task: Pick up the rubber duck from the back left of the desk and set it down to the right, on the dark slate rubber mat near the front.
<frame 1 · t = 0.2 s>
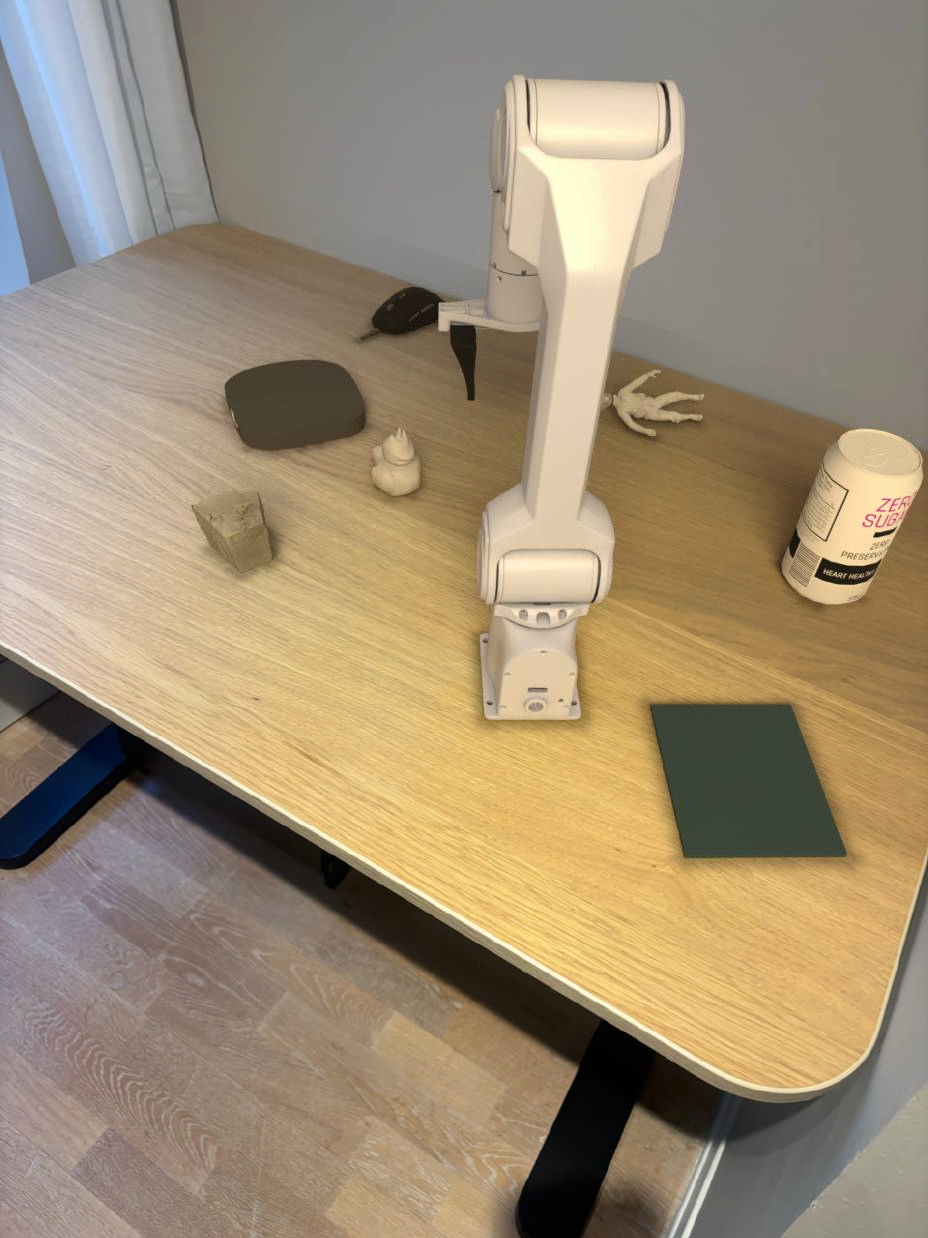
hand: (508, 396, 88), 10 cm above the table, tool pointing down, fingers open, 7 cm apart
media streaming box: (296, 414, 102), on the table
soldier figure: (649, 421, 105), on the table
rubber duck: (395, 488, 93), on the table
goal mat: (741, 777, 69), on the table
mineral specimen: (247, 561, 84), on the table
supplement can: (821, 581, 85), on the table
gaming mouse: (402, 324, 119), on the table
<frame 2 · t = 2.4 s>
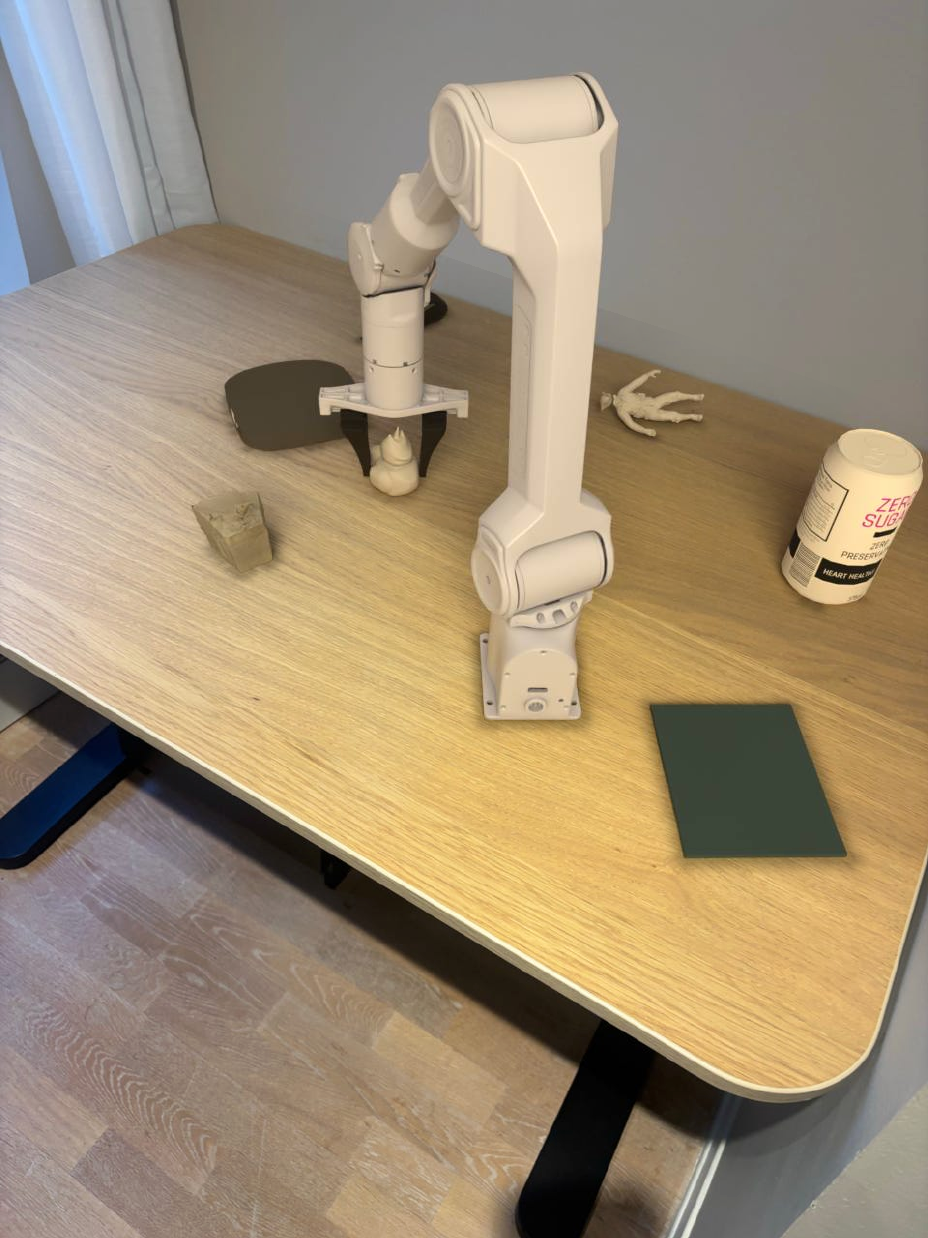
hand: (395, 471, 92), 2 cm above the table, tool pointing down, fingers closed on rubber duck, 5 cm apart
rubber duck: (393, 488, 93), on the table, touching gripper
everything else where it was.
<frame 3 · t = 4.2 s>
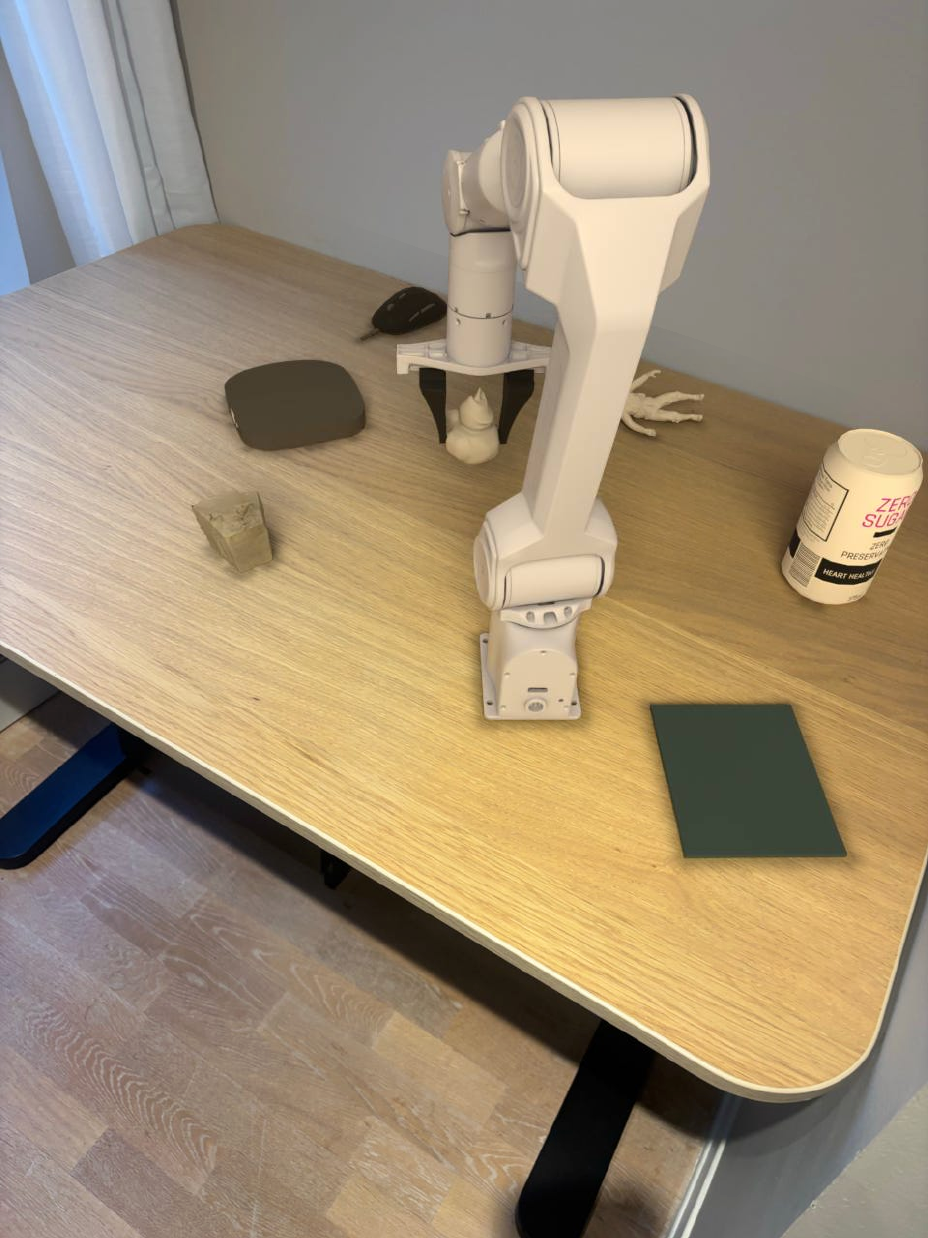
hand: (472, 438, 85), 9 cm above the table, tool pointing down, fingers closed on rubber duck, 5 cm apart
rubber duck: (469, 456, 86), point 7 cm above the table, touching gripper
everything else where it was.
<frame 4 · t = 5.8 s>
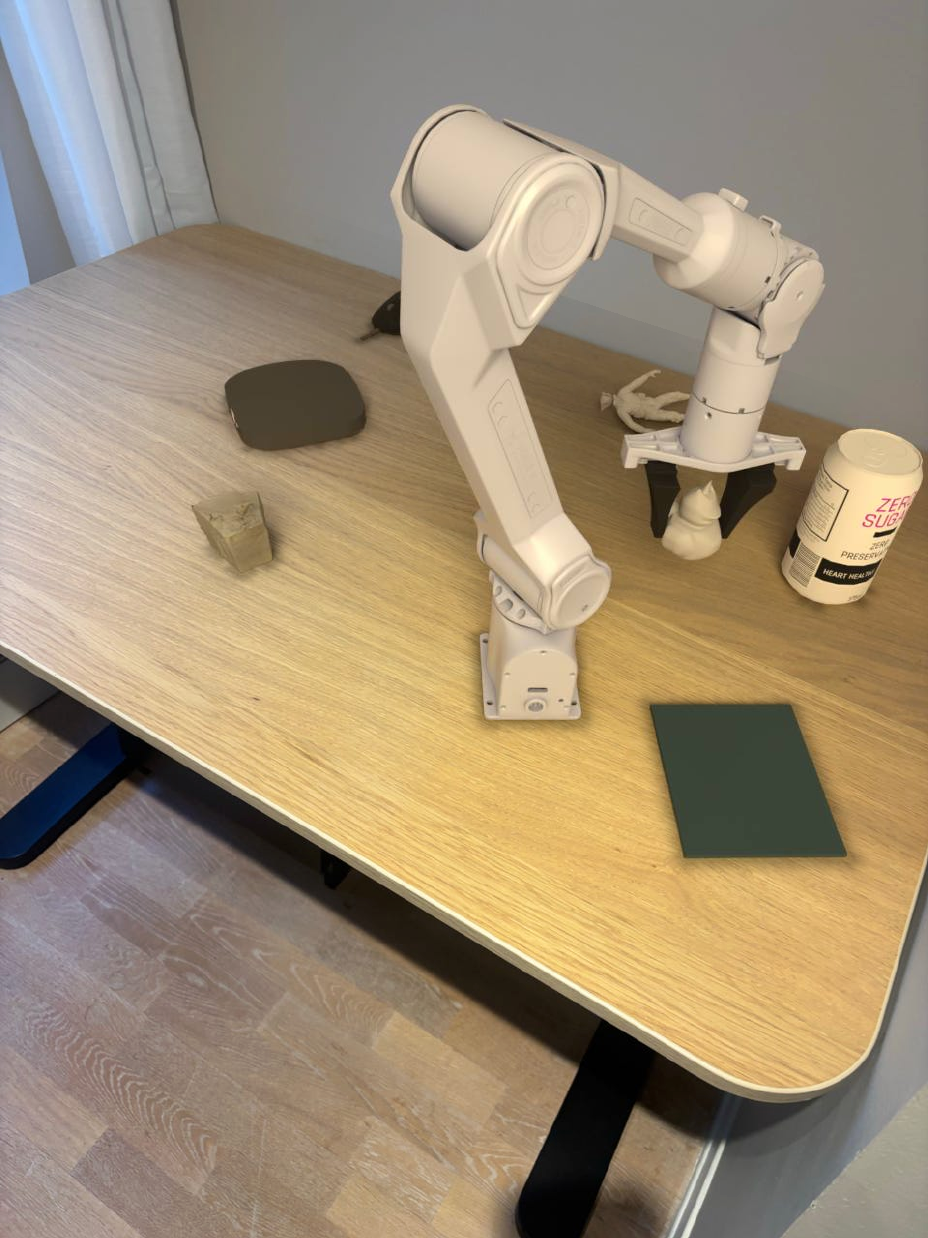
hand: (689, 531, 77), 8 cm above the table, tool pointing down, fingers closed on rubber duck, 5 cm apart
rubber duck: (680, 549, 78), point 6 cm above the table, touching gripper
everything else where it was.
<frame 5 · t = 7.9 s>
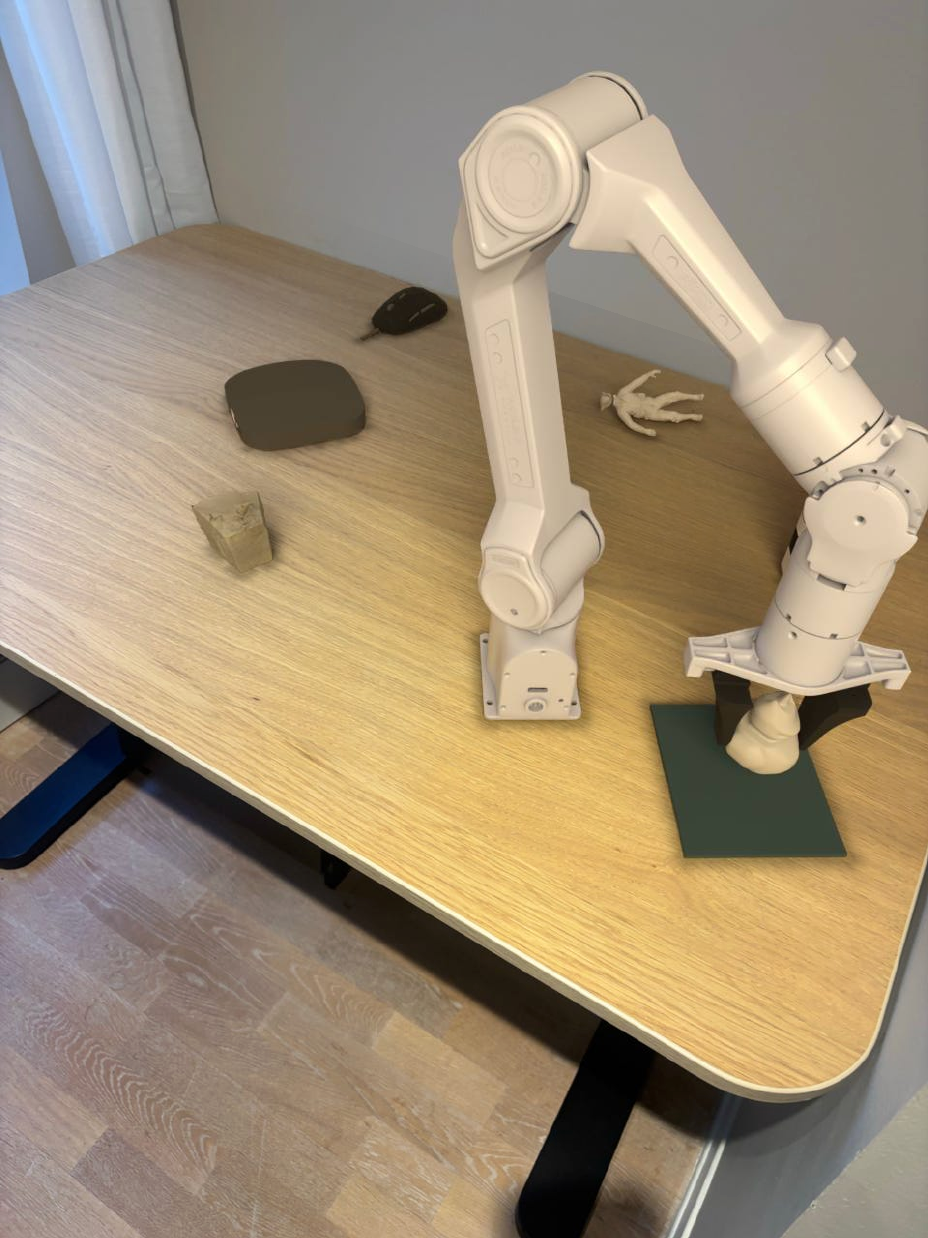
hand: (759, 737, 65), 5 cm above the table, tool pointing down, fingers closed on rubber duck, 5 cm apart
rubber duck: (748, 753, 66), point 3 cm above the table, touching gripper
everything else where it was.
when the fingers open (2 cm above the table, at t = 9.3 s): rubber duck stays where it is, resting on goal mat.
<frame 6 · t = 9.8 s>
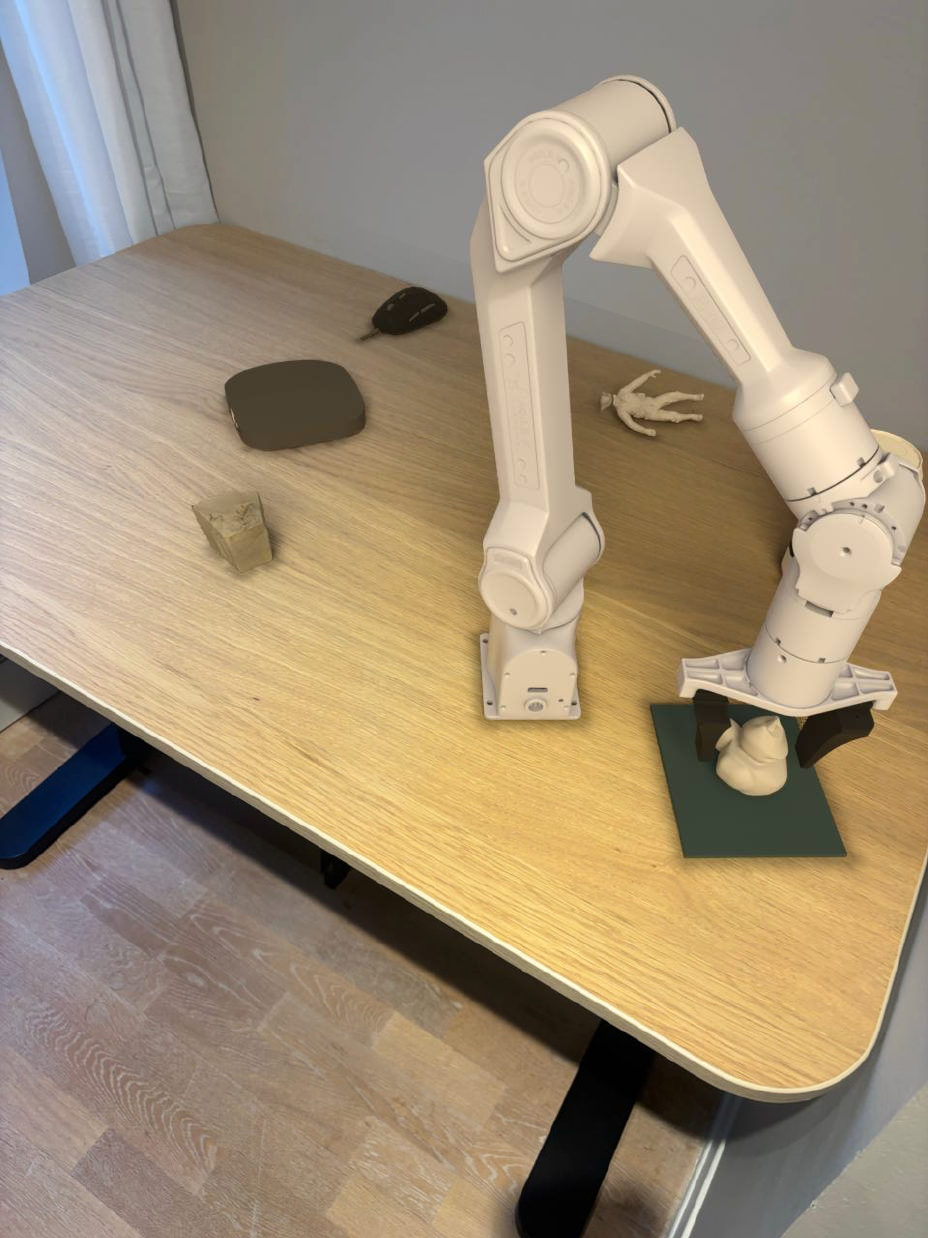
hand: (751, 754, 66), 3 cm above the table, tool pointing down, fingers open, 7 cm apart
rubber duck: (738, 774, 68), resting on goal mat
everything else where it was.
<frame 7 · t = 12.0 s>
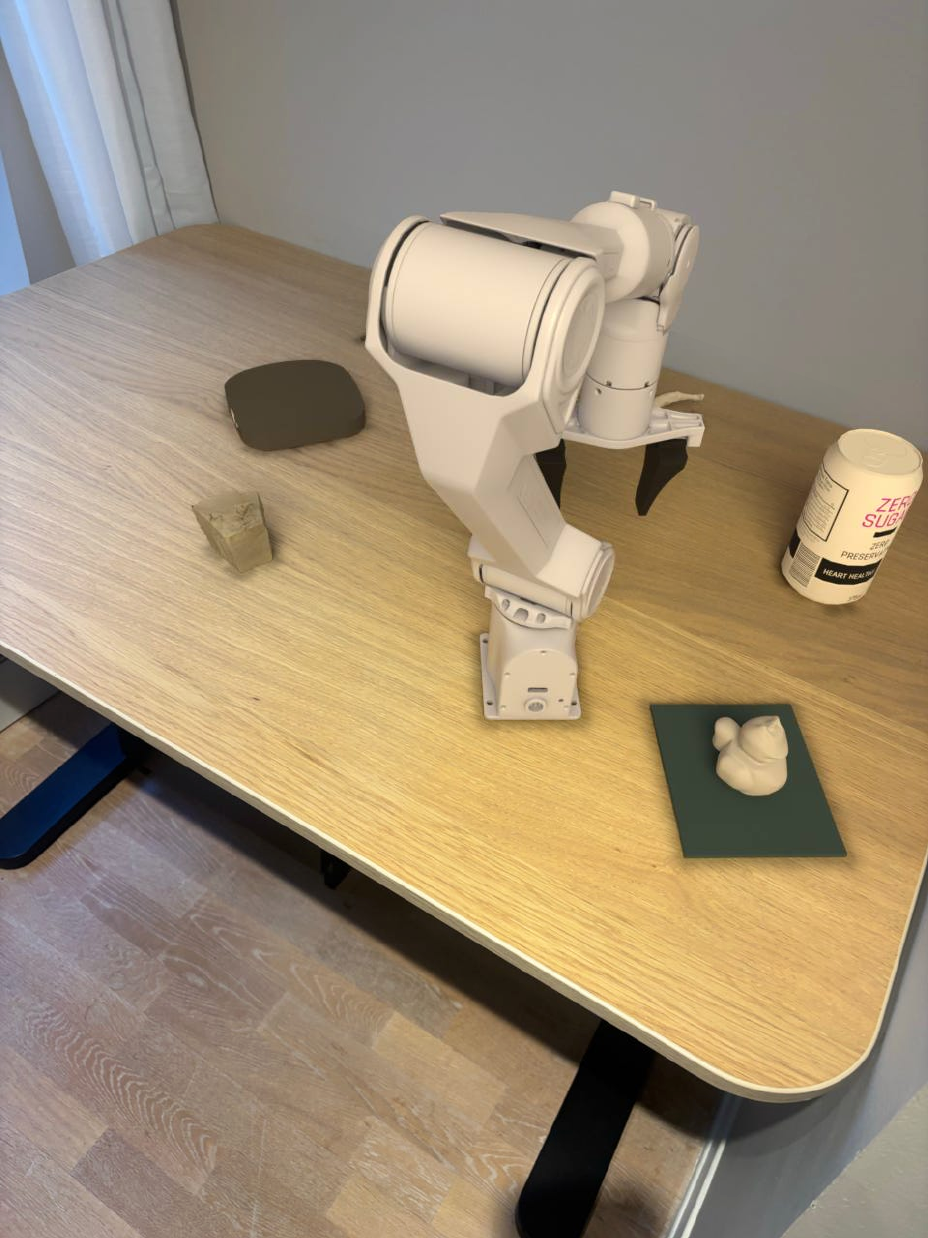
hand: (597, 508, 77), 9 cm above the table, tool pointing down, fingers open, 7 cm apart
nothing on the table moved.
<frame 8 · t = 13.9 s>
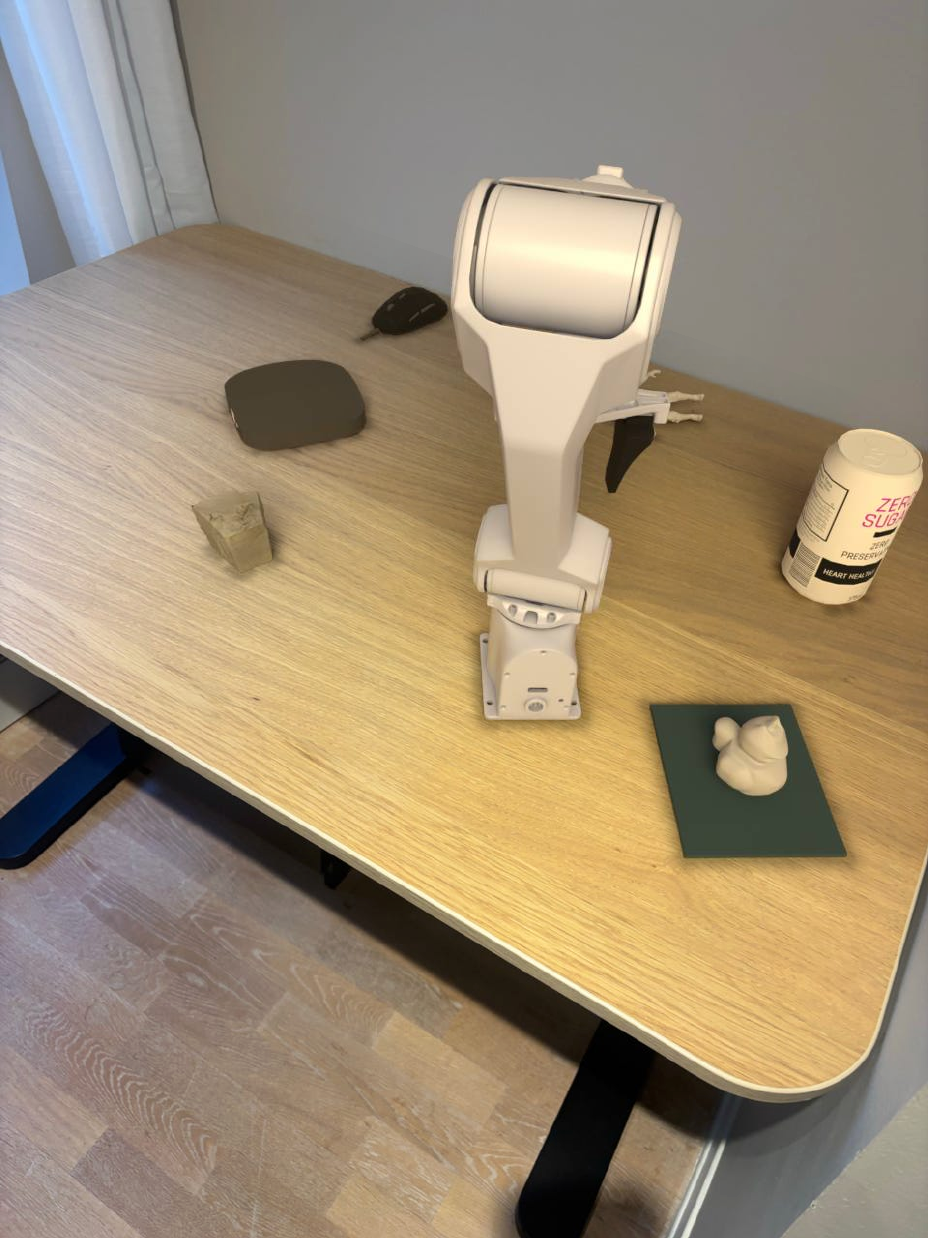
hand: (568, 485, 79), 9 cm above the table, tool pointing down, fingers open, 7 cm apart
nothing on the table moved.
at the end: rubber duck inside the target area on the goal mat (0.2 cm from its centre), point 0.2 cm above the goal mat's base; rubber duck tilted 0°; the gripper is holding nothing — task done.
